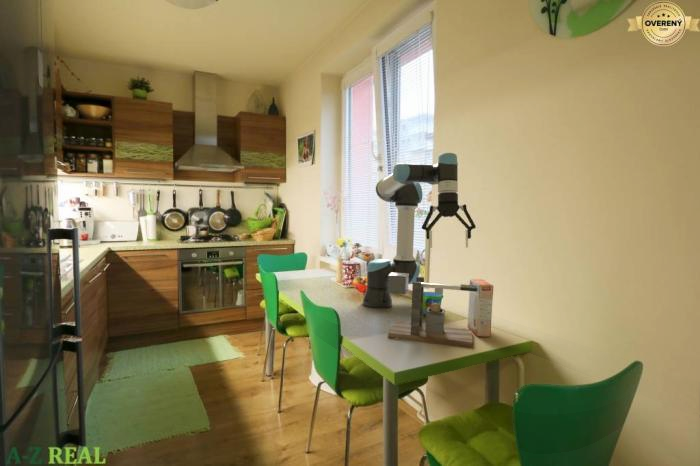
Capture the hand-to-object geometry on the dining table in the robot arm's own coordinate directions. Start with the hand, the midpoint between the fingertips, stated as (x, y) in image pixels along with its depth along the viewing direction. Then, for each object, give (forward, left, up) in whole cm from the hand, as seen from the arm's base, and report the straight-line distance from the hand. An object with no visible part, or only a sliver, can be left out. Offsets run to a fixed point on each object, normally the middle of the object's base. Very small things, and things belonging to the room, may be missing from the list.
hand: (448, 247), depth 150 cm
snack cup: (-31, -8, -35) cm, 48 cm away
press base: (+1, -5, -35) cm, 36 cm away
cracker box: (-12, +13, -35) cm, 40 cm away
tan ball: (+1, -4, -26) cm, 26 cm away
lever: (+1, -6, -19) cm, 19 cm away
